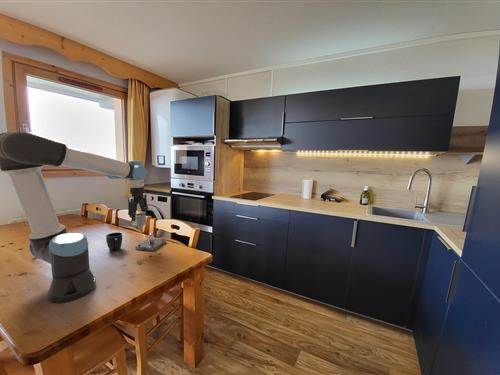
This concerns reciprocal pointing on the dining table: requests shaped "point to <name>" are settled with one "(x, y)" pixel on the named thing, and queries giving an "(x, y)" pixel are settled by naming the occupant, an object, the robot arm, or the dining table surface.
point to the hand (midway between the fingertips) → (139, 223)
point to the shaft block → (150, 243)
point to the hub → (141, 219)
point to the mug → (114, 241)
